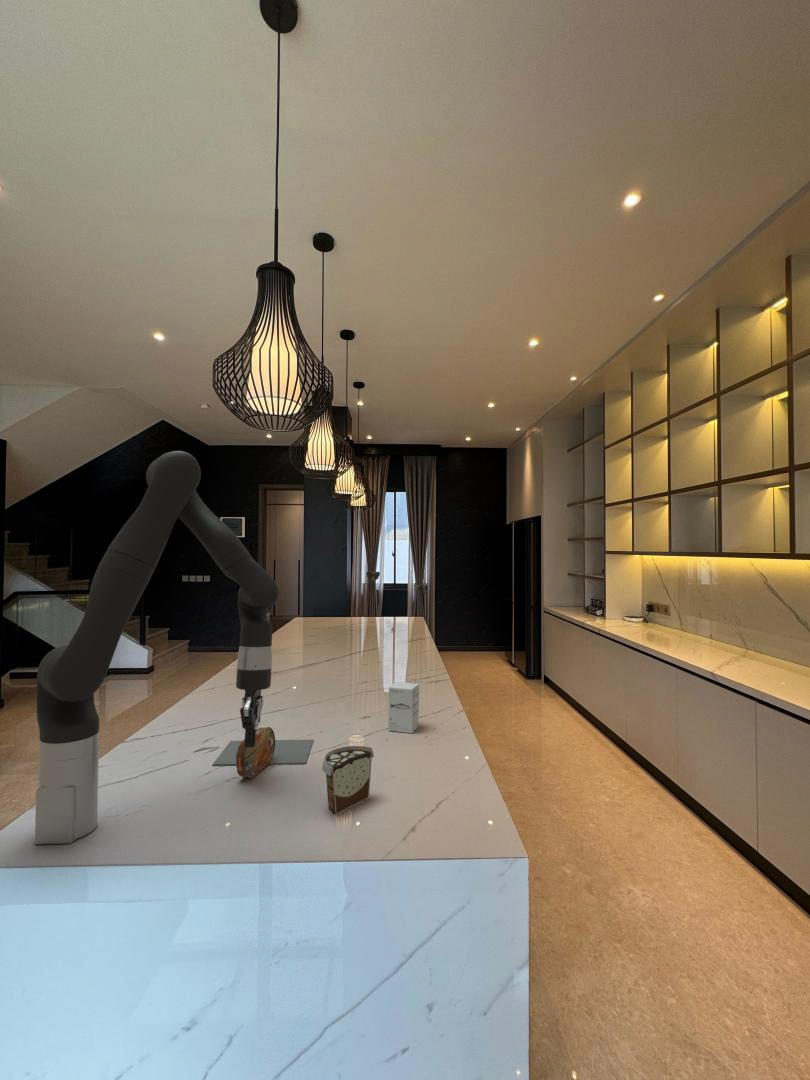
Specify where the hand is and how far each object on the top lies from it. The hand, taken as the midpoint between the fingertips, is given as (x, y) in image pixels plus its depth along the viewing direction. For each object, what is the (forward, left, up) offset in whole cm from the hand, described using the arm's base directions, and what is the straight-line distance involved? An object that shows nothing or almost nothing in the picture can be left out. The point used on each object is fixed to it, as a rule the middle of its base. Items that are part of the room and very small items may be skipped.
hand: (250, 746), depth 117 cm
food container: (-10, -21, -8) cm, 25 cm away
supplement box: (+35, -36, -8) cm, 51 cm away
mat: (+18, 0, -8) cm, 19 cm away
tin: (+7, 0, -8) cm, 10 cm away
